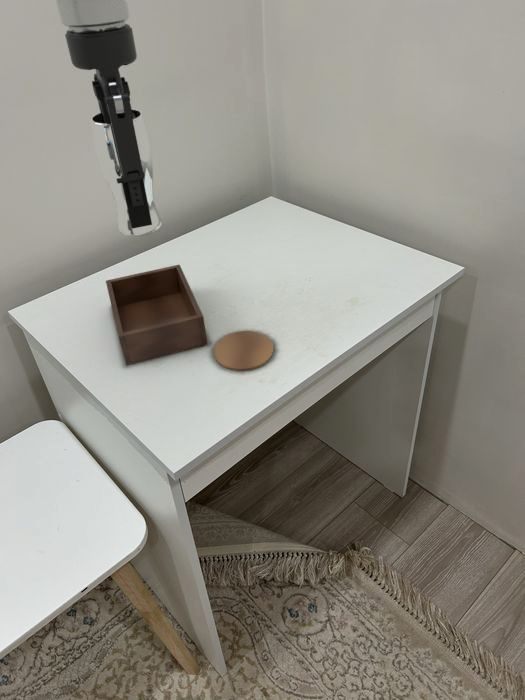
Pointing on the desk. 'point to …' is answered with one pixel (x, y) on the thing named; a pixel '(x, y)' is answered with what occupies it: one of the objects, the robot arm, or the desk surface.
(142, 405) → the desk surface
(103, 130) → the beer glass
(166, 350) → the crate
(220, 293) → the desk surface
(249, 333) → the coaster
